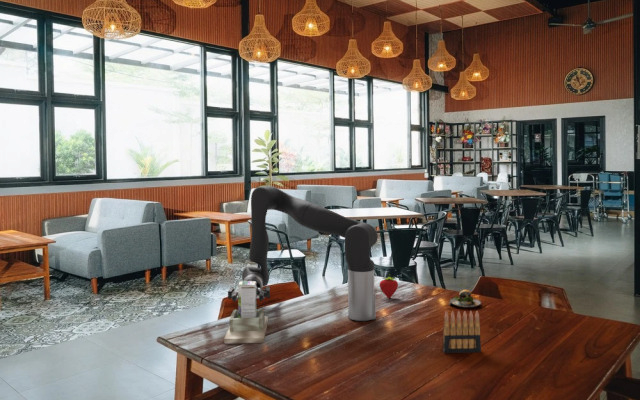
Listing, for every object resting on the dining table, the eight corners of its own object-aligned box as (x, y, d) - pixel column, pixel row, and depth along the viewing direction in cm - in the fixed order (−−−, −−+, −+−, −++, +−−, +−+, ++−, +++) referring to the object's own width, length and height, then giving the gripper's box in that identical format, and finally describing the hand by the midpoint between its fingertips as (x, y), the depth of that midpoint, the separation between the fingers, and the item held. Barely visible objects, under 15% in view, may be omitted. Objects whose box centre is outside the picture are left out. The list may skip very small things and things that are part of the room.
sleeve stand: (267, 320, 183) (267, 305, 183) (263, 342, 161) (263, 325, 161) (233, 321, 183) (233, 306, 182) (224, 343, 161) (223, 326, 160)
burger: (444, 307, 197) (444, 287, 197) (454, 300, 207) (454, 281, 206) (476, 312, 191) (476, 291, 190) (485, 304, 201) (485, 285, 200)
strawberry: (377, 296, 213) (377, 272, 213) (396, 295, 214) (395, 271, 213) (381, 300, 207) (381, 275, 207) (399, 299, 208) (399, 274, 208)
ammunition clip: (479, 350, 152) (479, 309, 151) (481, 352, 150) (481, 311, 150) (442, 350, 152) (442, 310, 151) (443, 352, 151) (443, 312, 150)
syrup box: (239, 323, 176) (238, 280, 175) (257, 322, 176) (256, 280, 175) (238, 328, 170) (237, 284, 169) (256, 328, 170) (255, 284, 169)
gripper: (231, 276, 189) (225, 287, 173) (271, 275, 190) (268, 286, 173) (232, 297, 190) (226, 309, 173) (271, 296, 190) (269, 308, 174)
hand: (247, 298), depth 173 cm, fingers open, 8 cm apart
